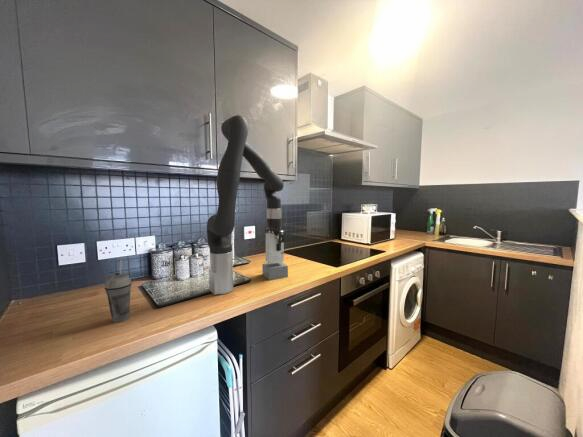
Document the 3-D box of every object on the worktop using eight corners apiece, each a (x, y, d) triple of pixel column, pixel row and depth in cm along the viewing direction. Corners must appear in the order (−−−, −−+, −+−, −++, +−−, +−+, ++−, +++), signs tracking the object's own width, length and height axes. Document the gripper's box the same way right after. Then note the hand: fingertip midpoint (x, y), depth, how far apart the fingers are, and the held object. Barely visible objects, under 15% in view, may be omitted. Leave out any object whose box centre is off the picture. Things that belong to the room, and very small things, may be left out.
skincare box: (268, 264, 116) (268, 234, 115) (265, 261, 121) (264, 232, 120) (284, 262, 119) (284, 233, 118) (280, 259, 125) (279, 231, 124)
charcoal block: (269, 280, 114) (269, 268, 114) (262, 274, 123) (262, 263, 123) (287, 277, 119) (287, 265, 118) (279, 271, 128) (279, 261, 127)
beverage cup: (105, 319, 78) (101, 260, 76) (131, 311, 83) (127, 256, 82) (108, 327, 73) (104, 264, 71) (136, 318, 78) (132, 260, 76)
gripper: (260, 217, 122) (260, 248, 123) (276, 218, 111) (276, 253, 112) (272, 216, 126) (272, 246, 128) (288, 217, 115) (289, 250, 117)
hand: (274, 249), depth 120 cm, fingers closed on skincare box, 6 cm apart
